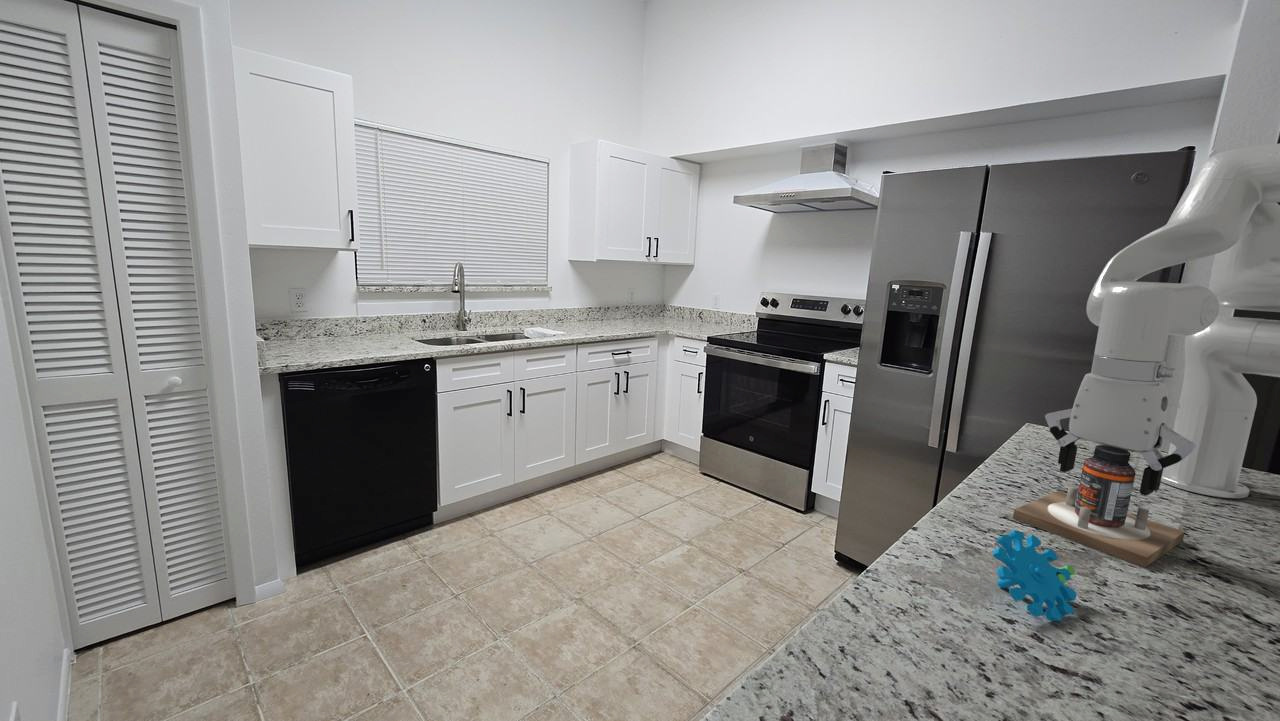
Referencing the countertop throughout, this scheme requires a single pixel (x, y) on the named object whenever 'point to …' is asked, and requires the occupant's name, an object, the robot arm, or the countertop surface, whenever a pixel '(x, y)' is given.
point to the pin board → (1101, 529)
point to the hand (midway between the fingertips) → (1104, 481)
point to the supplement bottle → (1106, 486)
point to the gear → (1034, 576)
